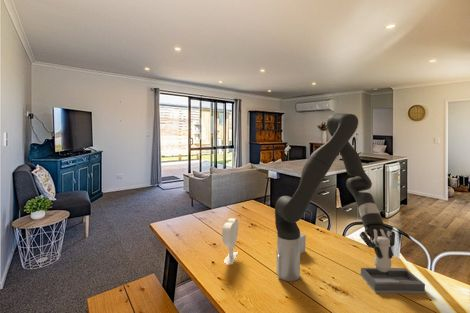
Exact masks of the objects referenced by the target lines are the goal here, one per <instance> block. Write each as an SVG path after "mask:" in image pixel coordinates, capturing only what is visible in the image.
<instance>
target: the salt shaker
mask: <svg viewBox="0 0 470 313" xmlns="http://www.w3.org/2000/svg"><path fill="white" fill-rule="evenodd" d="M377 242H378V245H379V246H378V247H379V248H380V250H381V253H382V256H383V258H381V259H379V258H378V257H377V256H376V255H375V257H374V261H373V263H374V266H375V268H377V270H379V271H381V272H388V271H389V269H390V268H392V261H391V259H392V258H391V259H390V258H389V251H388V250H389V247H388V245H389V244H390V239H389V237H388V236H386V237H385V236H379V237H378V238H377Z"/></svg>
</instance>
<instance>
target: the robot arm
mask: <svg viewBox="0 0 470 313" xmlns="http://www.w3.org/2000/svg"><path fill="white" fill-rule="evenodd" d="M358 126H359V118H358V117H357V115H356V114H352V113H337V112H336V113H332V114H331V115H330V116H329V117H328V118H327V120H326V127H327V128H326V129H327V131H328V133H329V135H330V136H331V138H330V139H329V140H328V141H326V142H325V143H324V144H322V145H320V147H318V148H317V149H315V151H313V152H312V153H311V155H310V156H309V157H308V159H307V160H306V162H305V164H304V165H303V167H302V170H301V175H300V181H299V185H298V187H297V189H296V191H294V192H295V193H294V194H293V195H292V196H290V195H289V196H288V195H283V196H280V197H279V198H277V200H276V203H275V205H274V218H275V219H274V220H275V221H274V222H275V228H276V231H277V237H276V238H277V241H276V242H277V248H276V273H277V279H278V280H283V281H286V282H295V281H298V280H299V279H300V278H301V277H300V276H301V254H300V234H301V230H300V228H299V226H298V224H297V223H298V222H299V221H300V220H302V218H303V216H304V214H305V213H306V211H307V209H308V207H309V204H310V203H311V200H312V198H313V197H314V195H315V192H316V191H317V190H318V188H319V186H320V185H321V183H322V181H323V180H324V178H325V177H326V175H327V174H328V172H329V170H330V169H331V168H332V165H333V163H334V162H335V161H336V159H337V157H338V156H339V154H340V156H341V158H342V159H341V160H342V161H343V165H344V167H345V168H344V169H345V171H346V173H347V175H348V176H350V177H349V178H347V180H346V182H345V184H346V188H347V189H348V191H349V192H350V193H351V195H352V196H353V198H354V200H355V203H356V205H357V208H358V213H359V216H360V219H361V222H362V225H363V228H364V231H361V232H360V233H359V237H360V238H361V239H362V241H363V242H364V243H365V244H366V246H367V247H368V248H372V249H373V250H374V252H375V256H377V257H378V258H379V259H381V258H383V256H382V253H381V250H380V248H379V247H378V246H379V245H378V244H379V243H378V242H377V238H378V237H379V236H385V237H387V238H389V239H390V244H389V245H388V247H389V250H388V251H389V258H390V259H392V258H393V256H394V254H393V251H392V248H393V246H395V244H396V243H395V241H396V233H395V231H389V230H388V229H387V228H386V227H385V223H384V220H383V218H382V216H381V212H380V210H379V208H378V206H377V204H376V202H375V198H374V197H373V195H372V194H371V193H370V192H364V191H368V190H370V189H371V188H372V186H373V182H372V180H371V178H370V176H369V175H368V174H367V173H366V172H365V169H364V167H363V164H362V160H361V157H360V155H359V153H358V152H357V150H356V149H355V148H354V147H353V145H352V144H351V143H350V142H349V141H350V139H351V138H352V137H353V135H354V134H355V133H356V131H357V130H358V129H357V128H358Z"/></svg>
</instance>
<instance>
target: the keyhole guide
mask: <svg viewBox="0 0 470 313" xmlns="http://www.w3.org/2000/svg"><path fill="white" fill-rule="evenodd" d="M359 276H361V278H362V279H363V280H364V281H365V282H366V284H367V285H368V286H369V288H370V289H371V290H372V291H373V292H374V293H375V294H414V295H415V294H417V295H418V294H420V295H421V294H422V295H423V294H424V295H425V294H426V290H425V289H426V283H424V282H423V281H422V280H421V279H420V278H418V277H417V276H416V275H415V274H413V273H412V272H411V271H410V270H408V269H407V268H405V267H391V268H390V269H389V271H388V272H381V271H379V270H377V268H376V267H361V268H360V274H359Z"/></svg>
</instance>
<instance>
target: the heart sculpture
mask: <svg viewBox="0 0 470 313" xmlns="http://www.w3.org/2000/svg"><path fill="white" fill-rule="evenodd" d="M238 234H239V219H238V218H230V217H229V218H228V219H227V222H226V221H225V223H224V224H223V227H222V233H221V235H222V238H221V239H222V243H223V245H224V246H226V247H227V248H228V253H229V254H227V255H228V256H227V255H226V256H227V257H225V258H224V260H223V261H224V263H226V264H225V265H234V263H235V261H236V259H237V257H236V255H237V254H238V252H239V251H237V252H233V251H234V248H235V247H236V243H237V240H238V239H237V238H238ZM238 255H239V254H238ZM235 258H236V259H235ZM234 260H235V261H234ZM233 262H234V263H233ZM224 263H223V264H224Z"/></svg>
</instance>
